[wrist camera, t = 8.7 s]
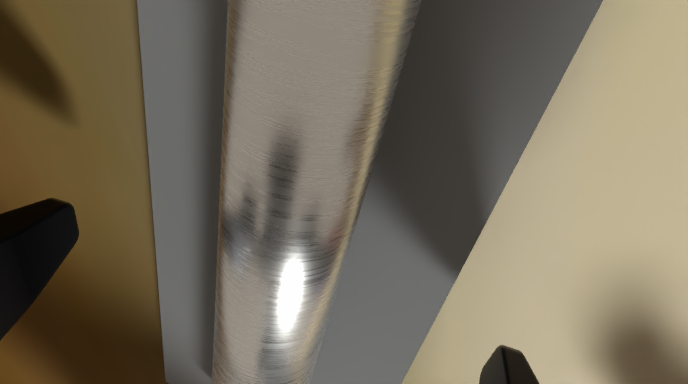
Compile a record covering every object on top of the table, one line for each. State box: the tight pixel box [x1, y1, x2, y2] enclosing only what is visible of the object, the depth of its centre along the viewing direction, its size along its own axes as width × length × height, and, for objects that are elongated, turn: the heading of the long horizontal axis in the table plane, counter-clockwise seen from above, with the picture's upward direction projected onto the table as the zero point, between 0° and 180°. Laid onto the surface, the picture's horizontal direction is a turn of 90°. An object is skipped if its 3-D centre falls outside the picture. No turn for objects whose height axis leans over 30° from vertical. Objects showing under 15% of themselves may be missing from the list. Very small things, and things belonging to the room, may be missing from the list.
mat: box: [137, 0, 603, 384], centre depth 10 cm, size 16×7×1 cm, turn 168°
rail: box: [212, 0, 422, 384], centre depth 9 cm, size 15×2×2 cm, turn 169°
